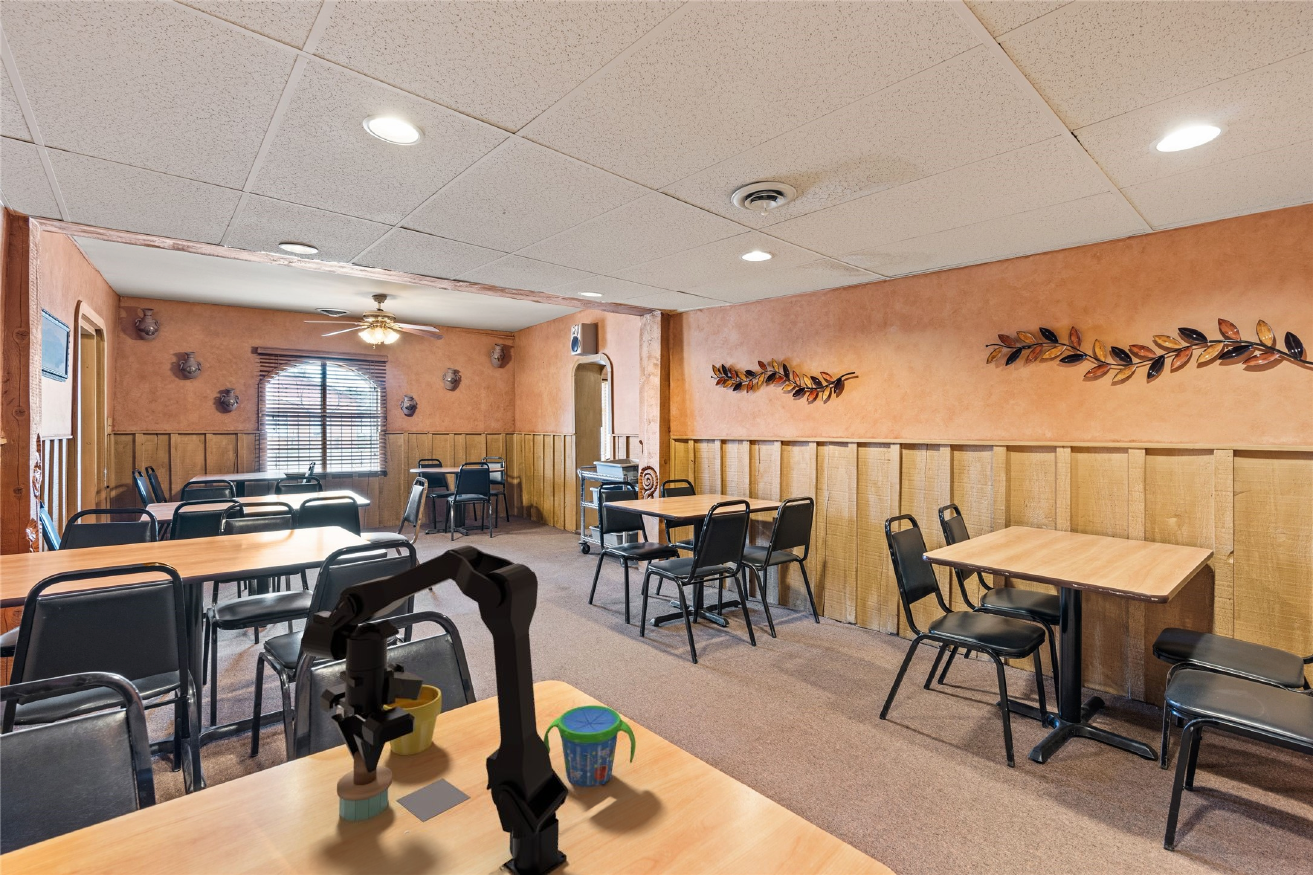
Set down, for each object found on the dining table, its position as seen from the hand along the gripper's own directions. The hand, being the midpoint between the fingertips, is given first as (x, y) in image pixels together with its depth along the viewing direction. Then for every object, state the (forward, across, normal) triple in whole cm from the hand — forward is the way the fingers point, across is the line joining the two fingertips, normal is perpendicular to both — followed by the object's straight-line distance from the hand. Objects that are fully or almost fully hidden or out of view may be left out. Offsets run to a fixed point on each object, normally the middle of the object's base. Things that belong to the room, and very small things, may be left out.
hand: (365, 766), depth 93 cm
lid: (+3, 0, 0) cm, 3 cm away
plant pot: (+7, +12, -14) cm, 20 cm away
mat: (+7, -6, -8) cm, 12 cm away
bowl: (+7, 0, 0) cm, 7 cm away
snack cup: (+7, -19, -29) cm, 35 cm away
